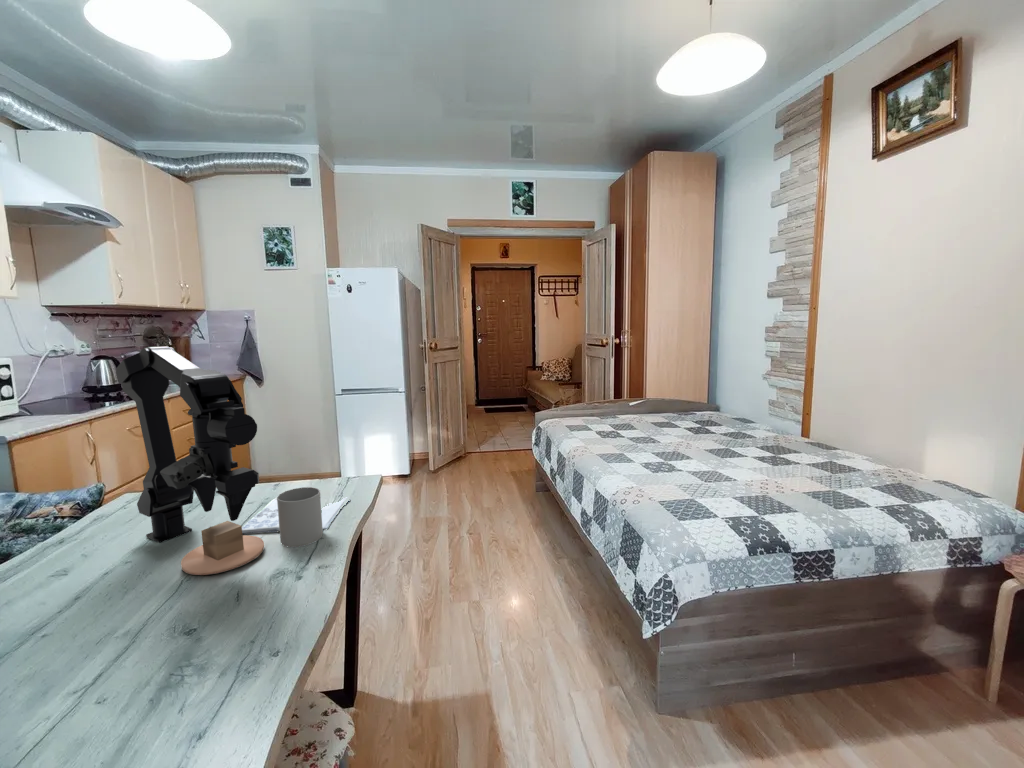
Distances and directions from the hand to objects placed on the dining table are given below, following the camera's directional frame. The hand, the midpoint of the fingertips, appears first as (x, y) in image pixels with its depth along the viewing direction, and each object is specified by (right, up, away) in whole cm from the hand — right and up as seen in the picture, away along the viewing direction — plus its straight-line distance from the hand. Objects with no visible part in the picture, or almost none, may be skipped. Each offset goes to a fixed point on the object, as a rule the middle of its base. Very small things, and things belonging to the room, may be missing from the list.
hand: (220, 515), depth 88 cm
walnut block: (0, -8, +1) cm, 8 cm away
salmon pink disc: (0, -9, +1) cm, 9 cm away
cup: (+12, -8, +10) cm, 17 cm away
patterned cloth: (+5, -7, +21) cm, 23 cm away
